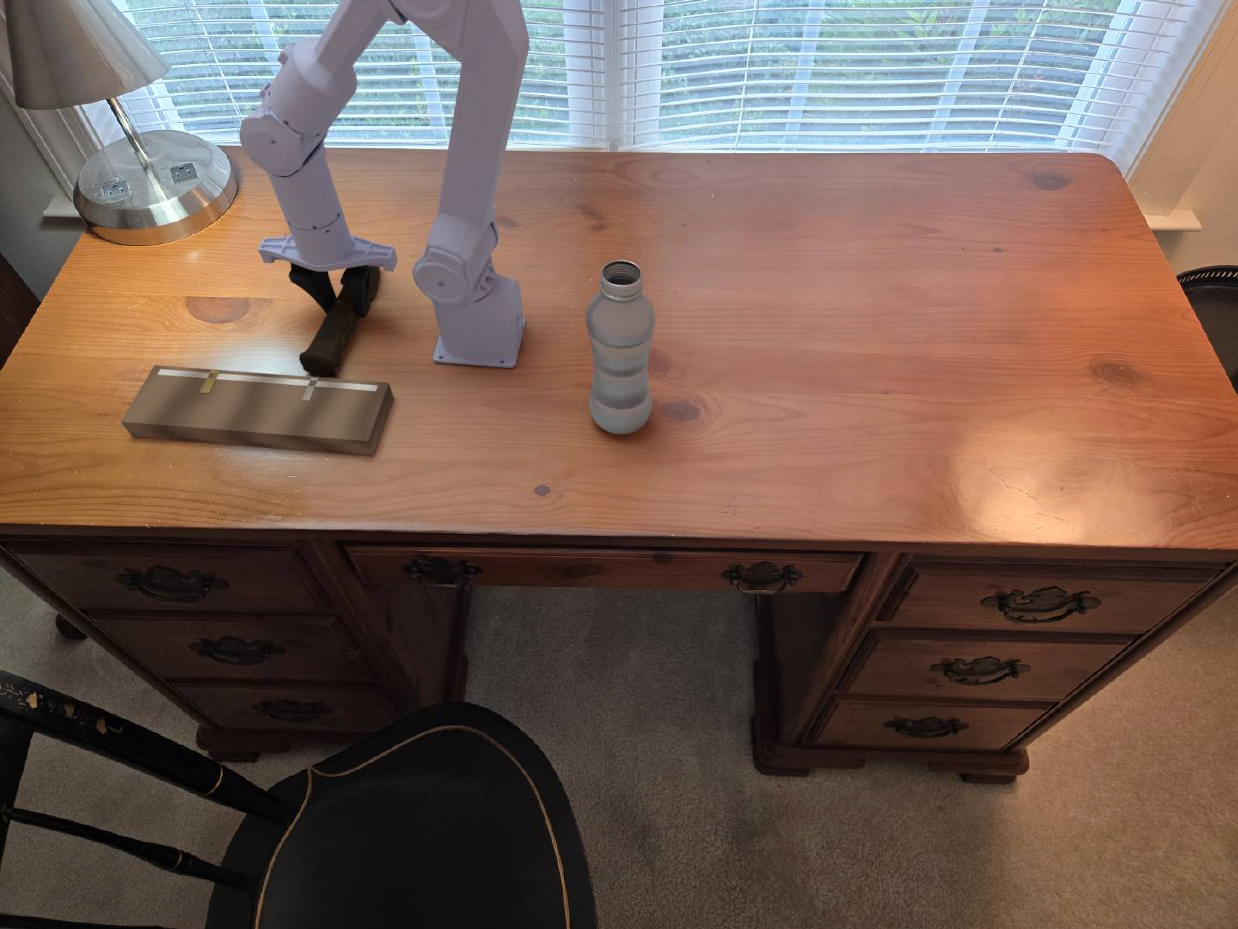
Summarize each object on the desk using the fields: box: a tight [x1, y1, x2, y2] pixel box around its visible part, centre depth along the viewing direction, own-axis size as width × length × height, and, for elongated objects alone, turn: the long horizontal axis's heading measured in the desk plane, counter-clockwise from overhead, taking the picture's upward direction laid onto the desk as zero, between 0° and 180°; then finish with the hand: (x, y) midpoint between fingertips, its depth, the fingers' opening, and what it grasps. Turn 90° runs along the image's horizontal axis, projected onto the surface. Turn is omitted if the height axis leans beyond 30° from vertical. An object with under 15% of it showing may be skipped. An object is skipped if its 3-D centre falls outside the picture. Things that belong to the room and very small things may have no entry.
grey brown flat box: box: [120, 364, 395, 457], centre depth 84 cm, size 26×8×3 cm, turn 85°
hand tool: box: [298, 266, 381, 378], centre depth 92 cm, size 19×4×5 cm, turn 168°
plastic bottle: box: [585, 259, 656, 436], centre depth 77 cm, size 6×7×20 cm
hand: (348, 311), depth 93 cm, fingers open, 3 cm apart
